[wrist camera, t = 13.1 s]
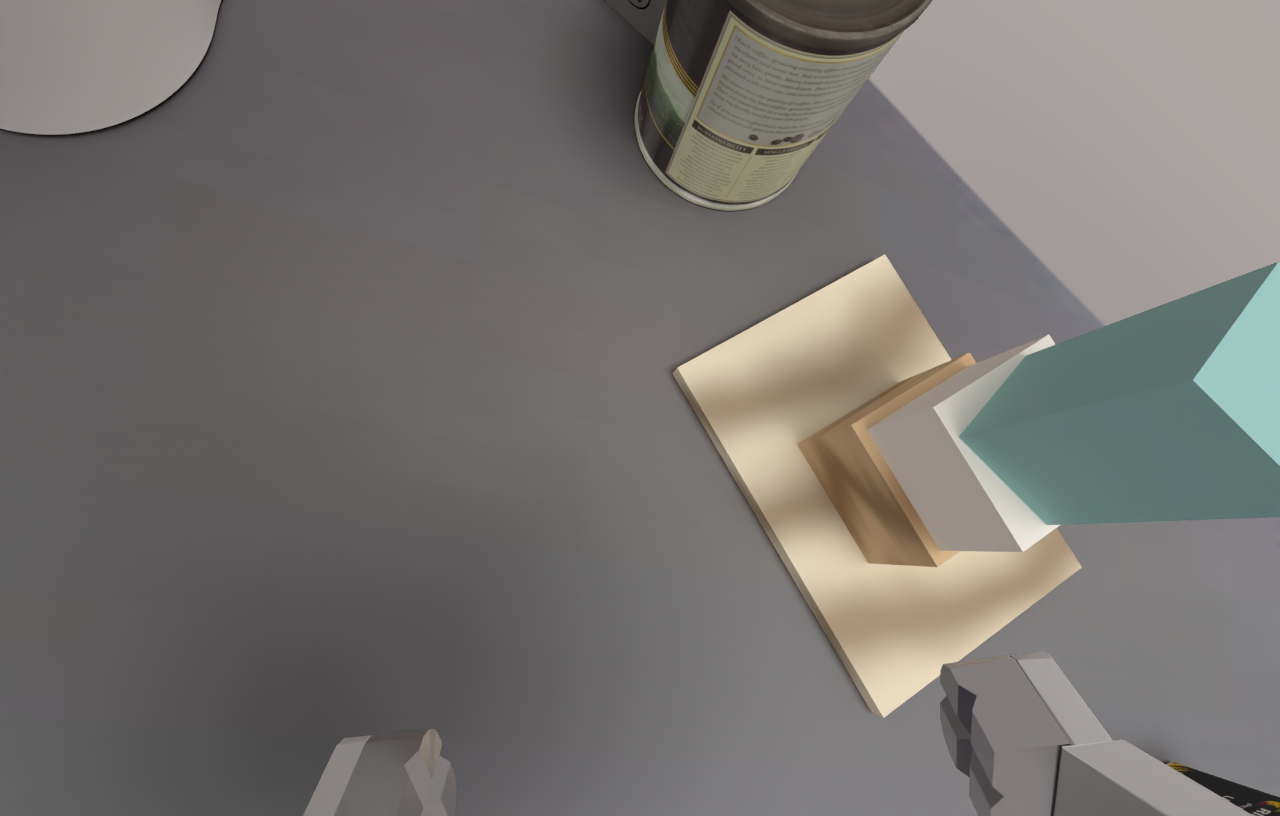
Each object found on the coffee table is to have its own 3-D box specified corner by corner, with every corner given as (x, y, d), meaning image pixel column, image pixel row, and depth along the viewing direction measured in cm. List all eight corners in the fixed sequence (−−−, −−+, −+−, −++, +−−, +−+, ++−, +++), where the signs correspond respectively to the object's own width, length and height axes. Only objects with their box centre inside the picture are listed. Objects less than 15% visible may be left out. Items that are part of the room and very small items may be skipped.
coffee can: (595, 119, 39) (637, -112, 25) (716, 21, 41) (814, -237, 28) (725, 249, 38) (838, 87, 25) (838, 142, 41) (997, -57, 27)
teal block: (958, 437, 25) (1192, 380, 16) (1026, 355, 26) (1278, 261, 17) (1046, 525, 25) (1329, 515, 16) (1110, 439, 26) (1406, 387, 17)
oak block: (796, 444, 36) (851, 425, 30) (899, 382, 37) (969, 352, 32) (868, 563, 35) (937, 567, 29) (969, 494, 37) (1053, 485, 31)
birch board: (672, 373, 36) (677, 367, 35) (874, 262, 40) (885, 254, 39) (871, 712, 35) (883, 717, 34) (1064, 566, 38) (1081, 567, 37)
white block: (866, 429, 30) (933, 407, 25) (967, 366, 31) (1048, 334, 27) (940, 550, 29) (1023, 552, 25) (1039, 481, 31) (1135, 469, 26)
